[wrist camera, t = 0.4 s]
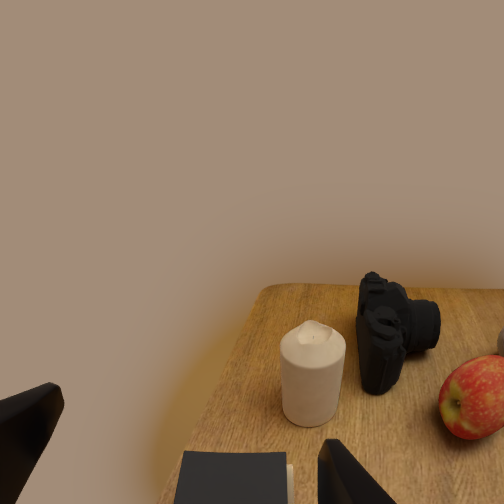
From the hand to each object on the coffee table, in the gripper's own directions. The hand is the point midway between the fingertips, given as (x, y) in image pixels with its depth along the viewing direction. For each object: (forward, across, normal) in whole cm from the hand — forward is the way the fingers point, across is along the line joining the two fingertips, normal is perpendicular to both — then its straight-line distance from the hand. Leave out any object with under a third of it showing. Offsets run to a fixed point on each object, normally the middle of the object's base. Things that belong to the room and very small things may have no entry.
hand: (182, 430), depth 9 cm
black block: (+2, -2, +9) cm, 10 cm away
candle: (+18, -9, +14) cm, 24 cm away
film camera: (+24, -19, +10) cm, 33 cm away
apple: (+12, -25, +11) cm, 30 cm away
